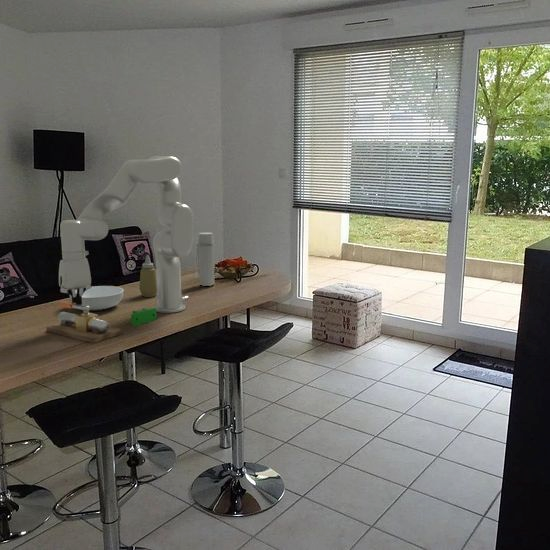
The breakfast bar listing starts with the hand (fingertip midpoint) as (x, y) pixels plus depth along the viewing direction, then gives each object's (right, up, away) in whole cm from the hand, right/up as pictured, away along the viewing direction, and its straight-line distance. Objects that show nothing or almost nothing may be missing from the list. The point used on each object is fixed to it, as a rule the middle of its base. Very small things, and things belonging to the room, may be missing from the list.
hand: (77, 306), depth 205 cm
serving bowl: (-2, -2, +29) cm, 29 cm away
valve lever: (+1, -2, -4) cm, 5 cm away
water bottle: (+37, +6, +70) cm, 79 cm away
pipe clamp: (+21, -6, +9) cm, 24 cm away
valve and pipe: (+4, -7, -5) cm, 10 cm away
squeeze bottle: (+15, +2, +49) cm, 51 cm away
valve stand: (+4, -9, -5) cm, 11 cm away
